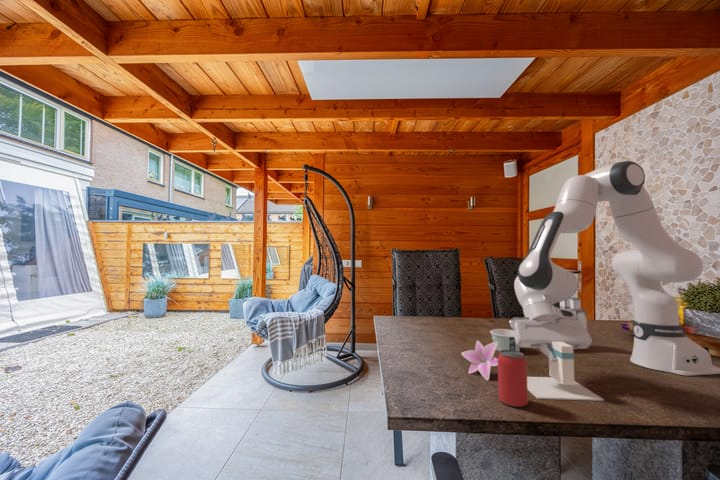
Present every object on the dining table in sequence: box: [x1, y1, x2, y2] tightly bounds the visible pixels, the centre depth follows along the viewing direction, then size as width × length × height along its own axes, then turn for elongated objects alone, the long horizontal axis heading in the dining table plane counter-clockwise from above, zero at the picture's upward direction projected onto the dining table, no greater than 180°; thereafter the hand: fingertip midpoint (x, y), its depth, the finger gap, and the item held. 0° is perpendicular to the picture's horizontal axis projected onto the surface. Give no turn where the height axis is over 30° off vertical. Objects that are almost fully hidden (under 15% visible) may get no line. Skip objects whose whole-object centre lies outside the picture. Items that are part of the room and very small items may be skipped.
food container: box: [489, 328, 521, 352], centre depth 121 cm, size 12×12×6 cm
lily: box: [460, 340, 498, 382], centre depth 96 cm, size 12×12×10 cm
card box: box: [548, 342, 576, 385], centre depth 85 cm, size 3×6×10 cm, turn 176°
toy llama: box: [559, 296, 588, 351], centre depth 124 cm, size 8×18×20 cm, turn 101°
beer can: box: [497, 350, 529, 408], centre depth 77 cm, size 7×7×12 cm
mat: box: [527, 376, 605, 402], centre depth 84 cm, size 16×14×1 cm
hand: (562, 360), depth 84 cm, fingers closed on card box, 3 cm apart
